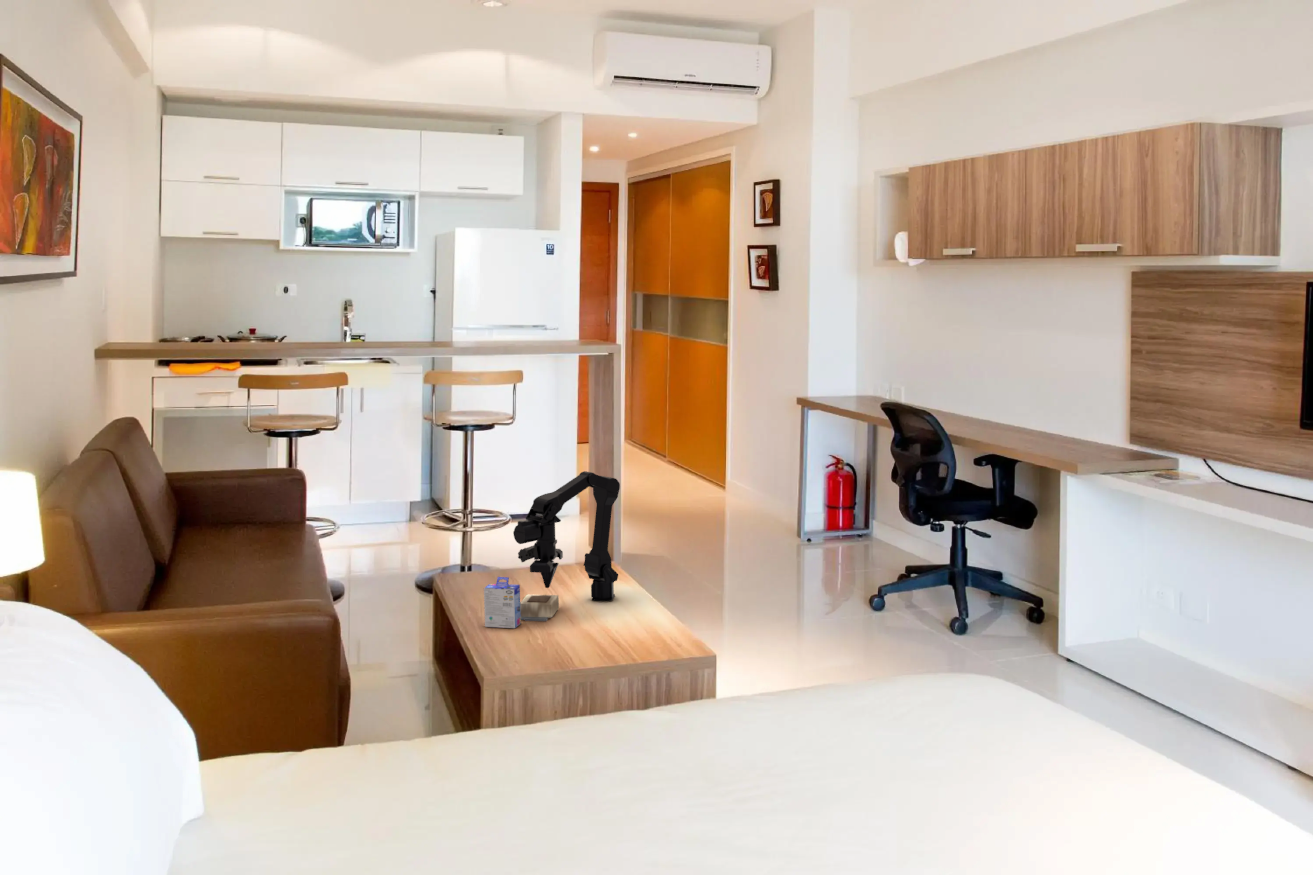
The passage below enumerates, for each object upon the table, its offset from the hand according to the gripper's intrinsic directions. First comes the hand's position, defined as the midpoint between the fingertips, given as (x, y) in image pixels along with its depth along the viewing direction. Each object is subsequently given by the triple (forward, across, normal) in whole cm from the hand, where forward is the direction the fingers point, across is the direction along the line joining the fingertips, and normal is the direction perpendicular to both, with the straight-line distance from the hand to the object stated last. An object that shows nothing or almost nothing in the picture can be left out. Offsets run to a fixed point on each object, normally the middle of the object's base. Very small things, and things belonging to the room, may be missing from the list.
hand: (547, 587), depth 358 cm
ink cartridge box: (+9, +12, -11) cm, 18 cm away
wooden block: (+6, 0, +2) cm, 6 cm away
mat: (+8, 0, -4) cm, 10 cm away
